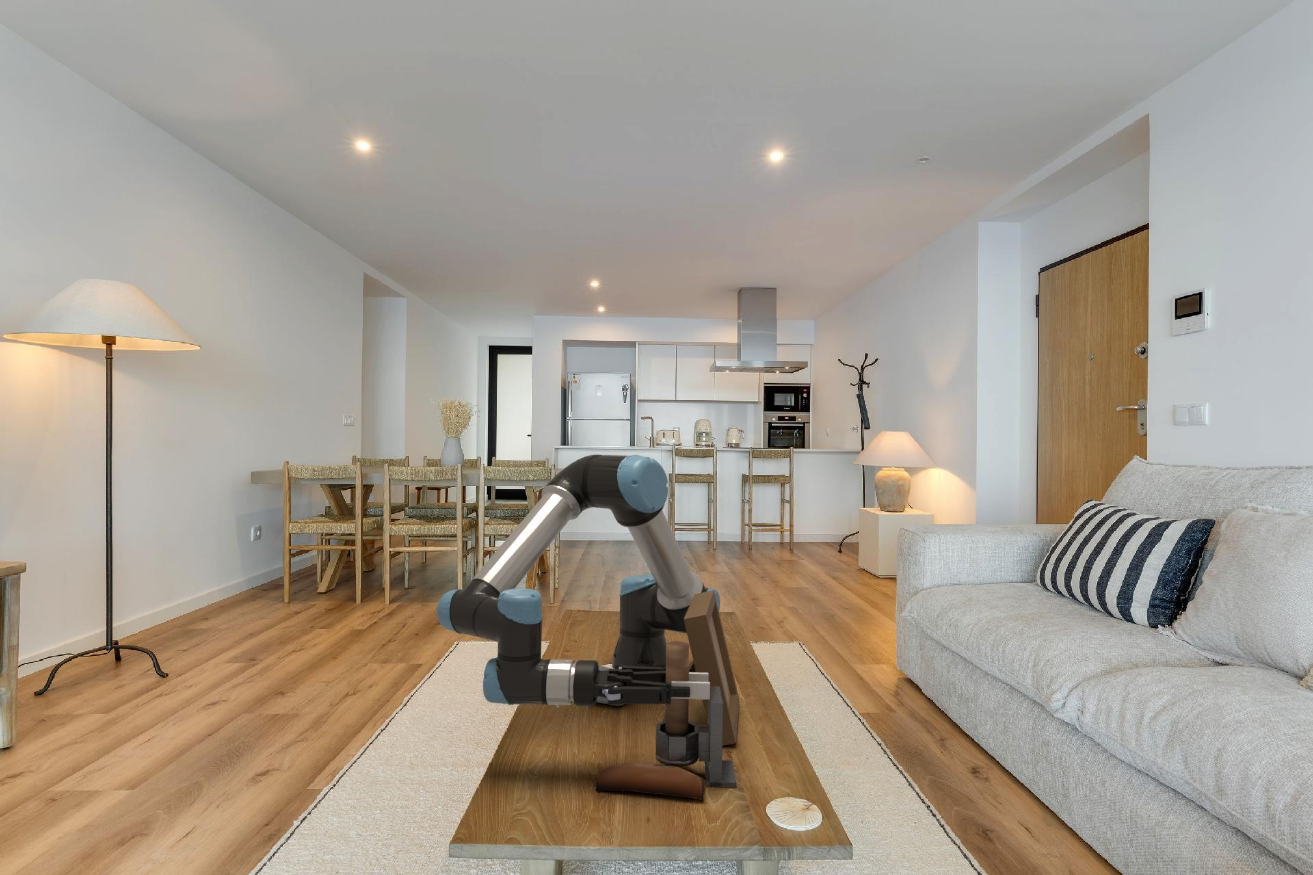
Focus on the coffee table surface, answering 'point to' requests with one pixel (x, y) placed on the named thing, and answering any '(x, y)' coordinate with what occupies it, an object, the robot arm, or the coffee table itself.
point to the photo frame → (712, 658)
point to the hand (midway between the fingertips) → (708, 685)
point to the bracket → (699, 745)
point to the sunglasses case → (651, 780)
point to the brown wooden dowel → (674, 672)
